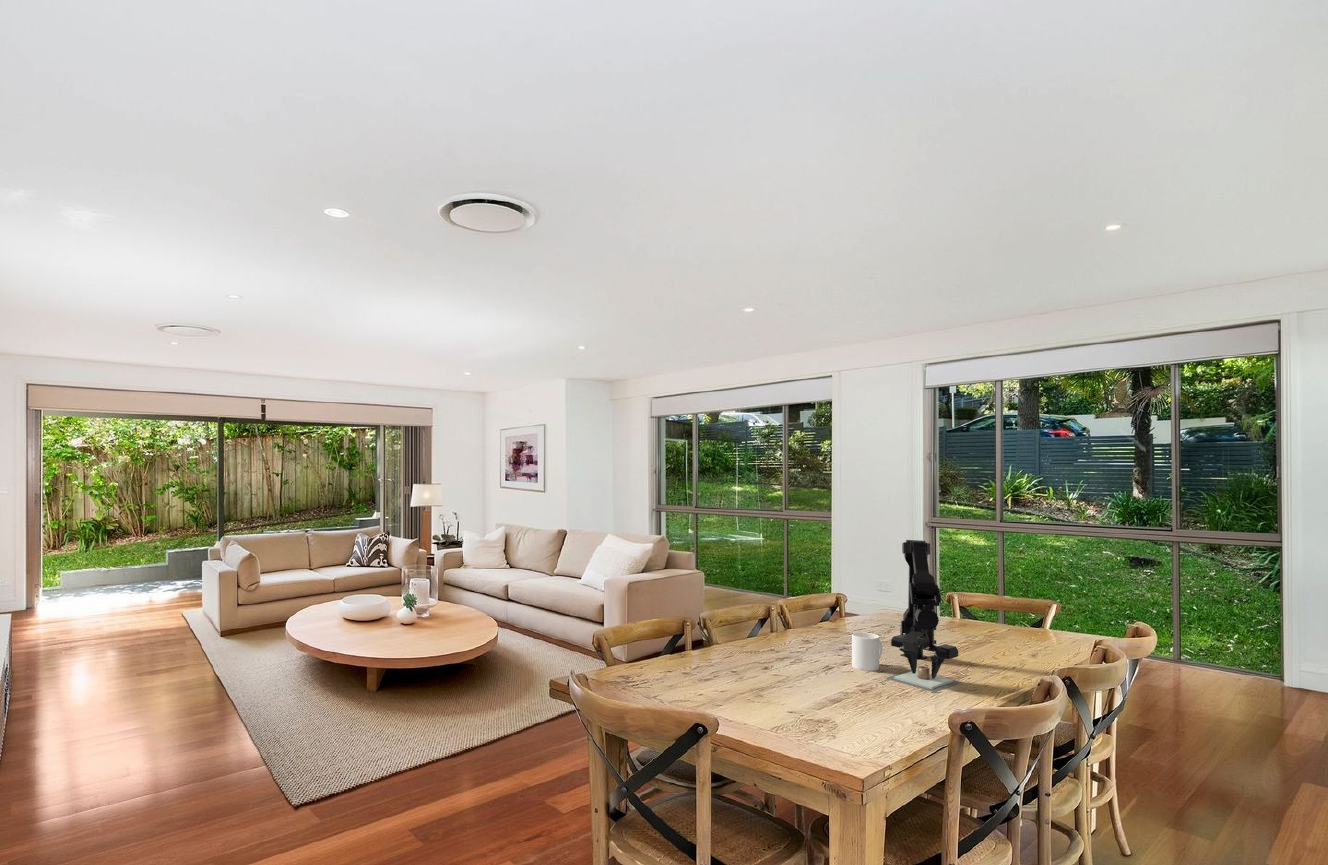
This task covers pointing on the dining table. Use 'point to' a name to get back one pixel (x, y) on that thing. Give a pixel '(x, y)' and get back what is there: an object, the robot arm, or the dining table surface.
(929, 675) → the panel
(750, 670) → the dining table surface
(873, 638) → the mug
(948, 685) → the mat
